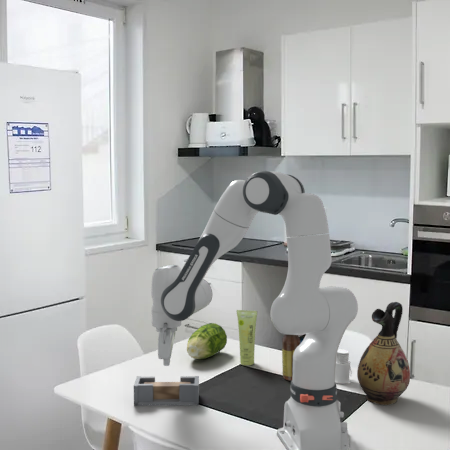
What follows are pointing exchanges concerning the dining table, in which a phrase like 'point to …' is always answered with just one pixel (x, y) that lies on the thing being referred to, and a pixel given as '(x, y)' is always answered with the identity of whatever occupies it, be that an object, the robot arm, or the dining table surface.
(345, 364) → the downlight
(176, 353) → the dining table surface
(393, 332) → the ceramic jug
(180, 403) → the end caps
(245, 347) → the tube
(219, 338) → the lettuce
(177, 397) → the slat
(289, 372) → the sauce bottle
